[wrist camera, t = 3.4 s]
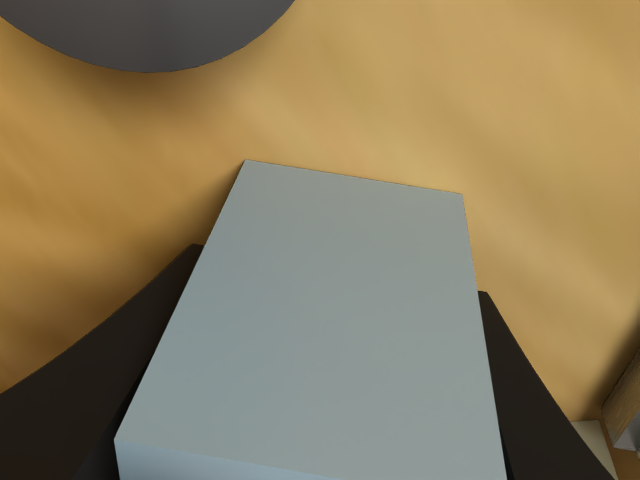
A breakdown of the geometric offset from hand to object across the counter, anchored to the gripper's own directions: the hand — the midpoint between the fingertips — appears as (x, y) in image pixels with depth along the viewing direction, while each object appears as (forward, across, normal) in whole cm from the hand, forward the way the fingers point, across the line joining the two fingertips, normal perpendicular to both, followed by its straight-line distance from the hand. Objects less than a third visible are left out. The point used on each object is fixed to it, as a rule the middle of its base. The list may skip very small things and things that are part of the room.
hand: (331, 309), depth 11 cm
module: (+1, 0, 0) cm, 1 cm away
